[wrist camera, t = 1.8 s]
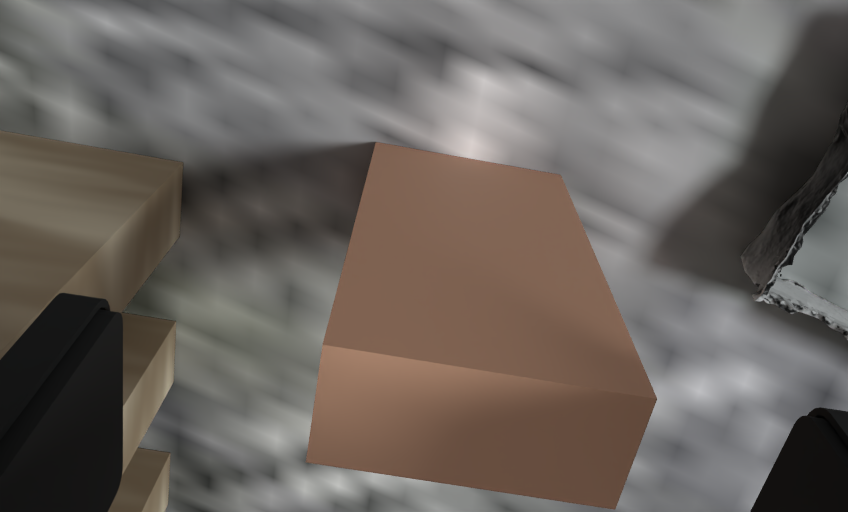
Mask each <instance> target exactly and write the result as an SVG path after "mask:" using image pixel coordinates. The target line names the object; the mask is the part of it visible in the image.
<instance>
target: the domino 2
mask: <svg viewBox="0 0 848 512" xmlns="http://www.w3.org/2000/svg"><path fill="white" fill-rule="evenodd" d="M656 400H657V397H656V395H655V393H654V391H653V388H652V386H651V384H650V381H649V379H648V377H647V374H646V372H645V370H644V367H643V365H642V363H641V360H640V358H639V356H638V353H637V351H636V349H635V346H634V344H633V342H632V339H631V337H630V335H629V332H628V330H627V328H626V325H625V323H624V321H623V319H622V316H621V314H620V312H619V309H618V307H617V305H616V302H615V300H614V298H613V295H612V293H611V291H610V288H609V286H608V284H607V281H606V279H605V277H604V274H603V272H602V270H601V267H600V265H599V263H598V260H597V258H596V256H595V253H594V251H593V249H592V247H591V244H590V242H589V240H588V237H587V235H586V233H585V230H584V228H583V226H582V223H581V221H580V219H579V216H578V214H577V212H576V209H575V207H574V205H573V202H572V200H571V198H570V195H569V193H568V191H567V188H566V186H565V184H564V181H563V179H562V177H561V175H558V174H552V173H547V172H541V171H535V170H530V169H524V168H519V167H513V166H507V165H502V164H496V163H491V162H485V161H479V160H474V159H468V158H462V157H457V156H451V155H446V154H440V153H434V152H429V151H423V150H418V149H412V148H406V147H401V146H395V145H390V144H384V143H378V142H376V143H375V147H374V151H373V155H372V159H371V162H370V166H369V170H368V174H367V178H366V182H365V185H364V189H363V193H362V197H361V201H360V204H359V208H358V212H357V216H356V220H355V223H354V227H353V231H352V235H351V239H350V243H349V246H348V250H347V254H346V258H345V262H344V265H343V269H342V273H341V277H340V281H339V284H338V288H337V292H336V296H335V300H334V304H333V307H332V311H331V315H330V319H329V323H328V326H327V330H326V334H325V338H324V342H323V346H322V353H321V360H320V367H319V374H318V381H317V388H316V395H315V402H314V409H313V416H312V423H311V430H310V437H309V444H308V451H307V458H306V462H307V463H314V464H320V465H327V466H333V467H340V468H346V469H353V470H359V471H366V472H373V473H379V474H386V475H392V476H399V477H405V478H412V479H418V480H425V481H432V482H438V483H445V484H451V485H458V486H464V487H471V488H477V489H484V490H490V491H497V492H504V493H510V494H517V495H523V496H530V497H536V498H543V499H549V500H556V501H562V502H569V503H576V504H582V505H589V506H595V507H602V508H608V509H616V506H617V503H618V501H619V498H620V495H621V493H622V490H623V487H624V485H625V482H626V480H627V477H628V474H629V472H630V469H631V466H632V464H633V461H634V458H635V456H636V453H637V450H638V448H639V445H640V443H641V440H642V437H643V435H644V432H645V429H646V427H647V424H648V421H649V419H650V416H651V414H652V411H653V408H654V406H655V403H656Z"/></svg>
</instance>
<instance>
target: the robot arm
mask: <svg viewBox="0 0 848 512" xmlns="http://www.w3.org/2000/svg"><path fill="white" fill-rule="evenodd" d="M122 472H123V318H122V315H121V313H120V312H114V311H110V306H109V303H108V301H107V300H106V299H102V298H95V297H89V296H82V295H75V294H69V293H59V294H58V295H57V296H56V297H55V298H54V299H53V300H52V301H51V302H50V303H49V305H48V306H47V307H46V308H45V309H44V310H43V311H42V313H41V314H40V315H39V316H38V317H37V318H36V319H35V321H34V322H33V323H32V324H31V325H30V326H29V327H28V329H27V330H26V331H25V332H24V333H23V334H22V335H21V337H20V338H19V339H18V340H17V341H16V342H15V343H14V345H13V346H12V347H11V348H10V349H9V350H8V351H7V352H6V354H5V355H4V356H3V357H2V358H1V359H0V512H108V510H109V508H110V506H111V504H112V502H113V500H114V498H115V496H116V494H117V492H118V489H119V486H120V482H121V478H122ZM750 512H848V412H846V411H840V410H833V409H827V408H815V409H814V410H812V411H811V412H809V414H808V415H807V416H802V417H800V418H799V419H798V420H797V421H796V423H795V424H794V426H793V428H792V430H791V432H790V434H789V436H788V438H787V440H786V442H785V444H784V446H783V448H782V450H781V452H780V454H779V456H778V458H777V460H776V462H775V464H774V466H773V468H772V470H771V472H770V474H769V476H768V478H767V480H766V482H765V484H764V486H763V488H762V490H761V492H760V494H759V496H758V498H757V500H756V502H755V504H754V506H753V507H752V509H751V511H750Z"/></svg>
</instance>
